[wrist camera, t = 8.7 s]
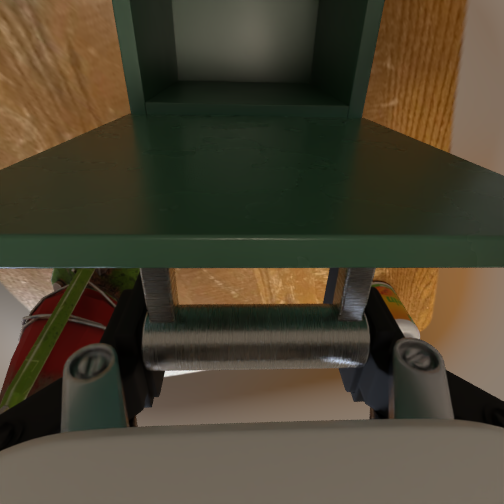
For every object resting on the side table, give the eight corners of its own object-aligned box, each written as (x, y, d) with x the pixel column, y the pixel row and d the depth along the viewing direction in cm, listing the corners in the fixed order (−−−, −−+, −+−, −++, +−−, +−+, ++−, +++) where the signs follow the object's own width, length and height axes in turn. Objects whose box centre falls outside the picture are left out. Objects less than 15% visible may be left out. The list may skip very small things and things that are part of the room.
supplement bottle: (402, 293, 40) (445, 358, 32) (370, 319, 42) (401, 385, 34) (373, 273, 38) (410, 336, 30) (340, 301, 40) (366, 367, 32)
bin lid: (-154, 235, 5) (-8, 448, 7) (654, 236, 5) (509, 436, 8) (128, 113, 16) (144, 212, 19) (364, 117, 17) (347, 213, 19)
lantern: (64, 197, 31) (-639, 823, 6) (174, 222, 33) (-28, 781, 8) (68, 301, 39) (-250, 786, 13) (158, 317, 40) (26, 768, 15)
